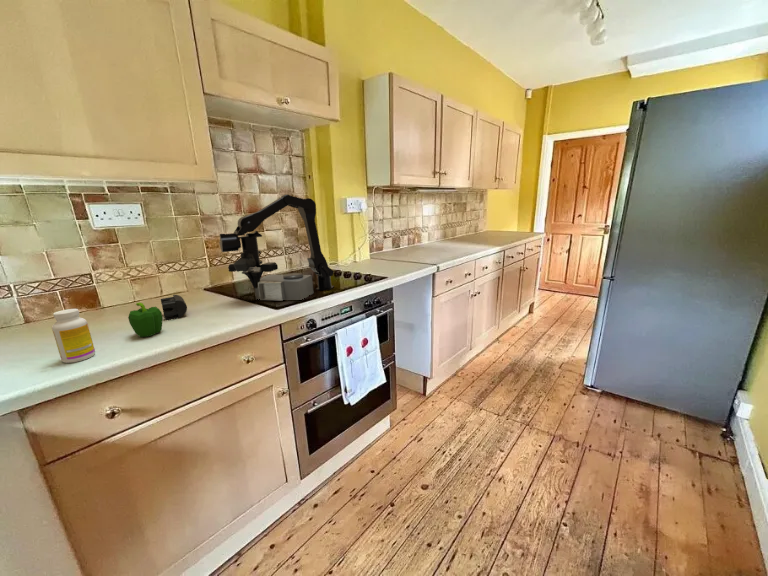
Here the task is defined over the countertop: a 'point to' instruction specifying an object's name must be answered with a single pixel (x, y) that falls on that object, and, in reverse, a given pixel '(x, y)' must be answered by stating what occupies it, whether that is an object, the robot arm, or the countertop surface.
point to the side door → (271, 290)
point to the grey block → (291, 285)
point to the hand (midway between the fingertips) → (255, 288)
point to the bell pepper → (146, 320)
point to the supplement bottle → (72, 336)
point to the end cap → (173, 307)
